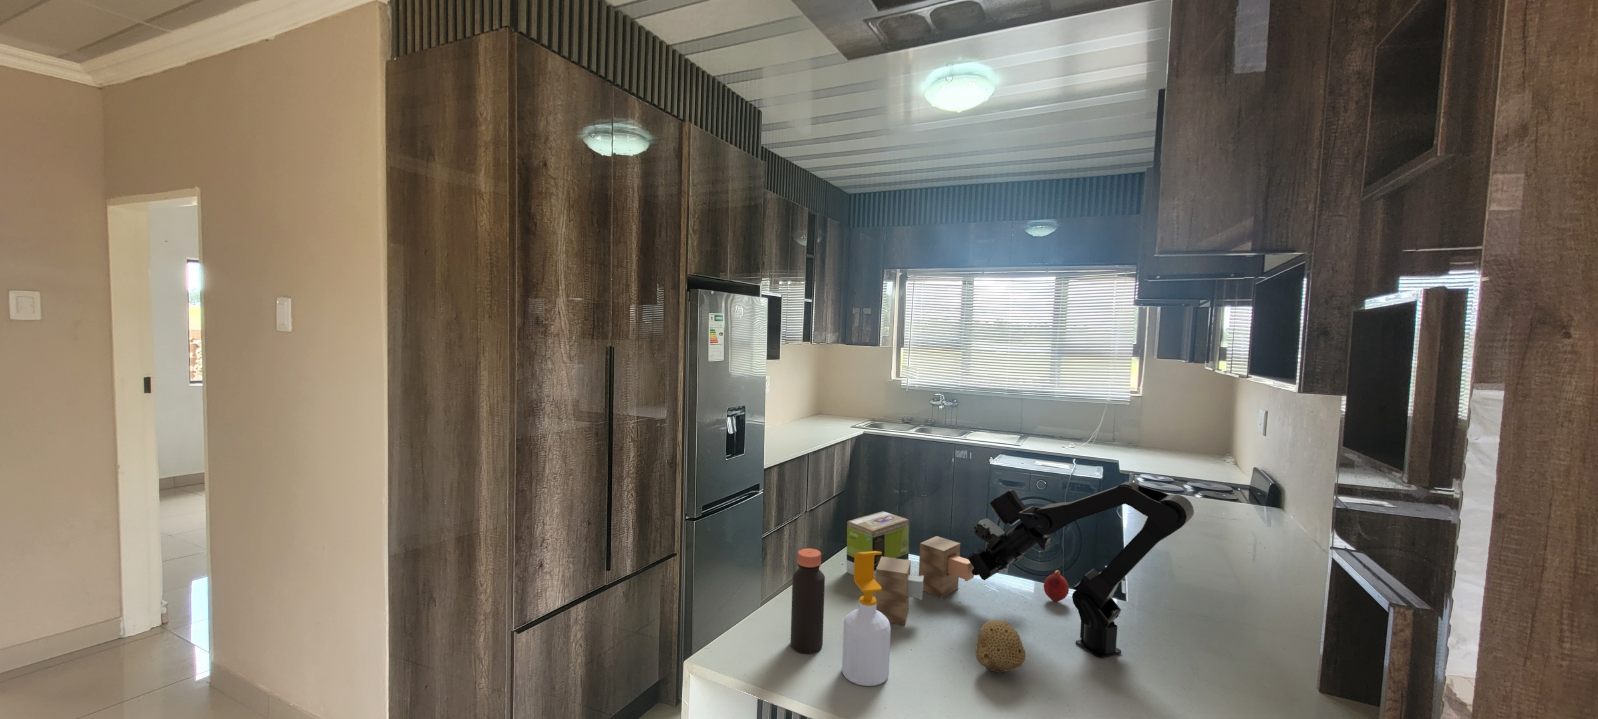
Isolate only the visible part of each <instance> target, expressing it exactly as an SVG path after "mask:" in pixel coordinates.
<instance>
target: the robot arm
mask: <svg viewBox="0 0 1598 719" xmlns="http://www.w3.org/2000/svg"><path fill="white" fill-rule="evenodd" d="M988 505H989V506H990V508H991V509H992V511H993V512H994V513H995V514H996V516H997V517H998V519H999V520H1000V522H1001V523H1002V524H1003V525H1005V526H1007V525H1009V526H1010V527H1011V526H1013V525H1015V524H1016V525H1015V527H1013V528H1012V529H1010V530H1007V531H1006V532H1005V531H1004V530H1003V529H1002V528H1001V527H1000V526H999V525H997V524H996V523H994V522H993V521H992V520H990V519H989V518H988V517H987V518H983V519H980V520H979V521H978V523H977V524H976V525H974V526H973V529H974V530H973V533H974V535H975V536H977V537H978V538H979V539H980V540H983V541H984V542H986V543H987V544H986V545H985V546H986V547H985V549H980V548H979V549H977V550H976V551H973V552H972V553H971V554H969V555H968V556H967V559H968V560H969V561H970V563H971V564H972V566H973V567H974V569H973V570H972V571H971V572H972V574H973V575H974V576H979V577H980V579H981V580H982V581H986V580H988V579H989V578H991V577H993V576H995V574H997V573H999V572H1000V571H1002V570H1004V569H1005V568H1007V566H1009V565H1010V564H1011V563H1013V564H1015V563H1016V562H1018V561H1019V560H1021V559H1022V558H1023V557H1024V554H1026V553H1028V551H1029V550H1031V549H1033V548H1035V547H1036V546H1037V545H1038V546H1039V547H1040V548H1041V550H1043V551H1046V550H1047V549H1048V548H1050V547H1051V545H1052V543H1051V538H1052V537H1051V536H1050V535H1052V534H1054V533H1056V532H1057V531H1059V530H1061V529H1063V528H1064V527H1066V526H1068V525H1069V524H1071V523H1073V522H1075V521H1077V520H1080V519H1083V518H1086V517H1090V516H1091V515H1095V514H1098V513H1103V512H1104V511H1107V510H1110V509H1113V508H1116V507H1120V506H1123V505H1127V506H1130V507H1131V508H1133V509H1134V510H1136V511H1137V512H1139V513H1140V514H1142V515H1143V516H1146V517H1147V518H1146V520H1145V522H1144V523H1143V526H1142V527H1141V529H1140V531H1138V533H1137V534H1135V536H1133V538H1132V539H1131V540H1130V541H1129V542H1128V543H1127V544H1126V545H1125V547H1123V548H1122V549H1121V551H1120V552H1119V553H1118V554H1117V555H1116V556H1114V558H1113V559H1112V560H1111V561H1110V562H1109V563H1108V565H1106V566H1105V568H1104V569H1102V570H1101V571H1100V572H1098V571H1097V570H1096V568H1092V569H1091V570H1090V571H1088V572H1087V573H1086V574H1084V576H1083V577H1082V579H1081V580H1080V581H1079V582H1078V583H1077V584H1075V585H1073V587H1072V589H1073V590H1074V591H1073V593H1072V595H1071V599H1072V603H1073V605H1074V608H1076V610H1077V611H1078V616H1079V618H1080V630H1079V632H1080V634H1079V639H1077V640H1075V644H1076V645H1078V646H1079V647H1081V648H1082V649H1084V650H1086V651H1087V652H1089V653H1090V654H1092V655H1093V656H1095V657H1097V658H1099V659H1103V658H1105V657H1110V656H1114V655H1119V654H1122V650H1121V649H1120V648H1118V647H1117V641H1118V640H1117V639H1118V625H1117V624H1116V622H1115V620H1116V619H1117V618H1118V617H1119V615H1120V613H1121V611H1122V609H1121V607H1120V606H1119V605H1118V604H1117V603H1116V601H1115V600H1114V599H1113V596H1114V594H1115V592H1116V591H1117V589H1118V586H1119V584H1120V582H1122V580H1124V579H1125V577H1126V576H1127V575H1129V573H1130V572H1131V571H1132V570H1133V569H1134V568H1135V567H1136V566H1137V565H1138V564H1139V563H1141V561H1142V560H1143V559H1144V558H1145V557H1146V556H1147V555H1148V554H1149V553H1150V551H1152V550H1153V548H1154V547H1155V546H1157V545H1158V543H1159V542H1161V541H1163V540H1164V539H1166V538H1167V537H1169V536H1171V535H1172V534H1174V533H1175V532H1177V531H1178V530H1180V529H1182V528H1183V526H1186V524H1187V523H1188V522H1189V521H1190V520H1191V519H1192V518H1193V517H1194V513H1195V512H1194V506H1193V504H1192V502H1191V501H1190V500H1189V499H1188V498H1187V497H1185V496H1183V495H1181V494H1175V493H1174V494H1169V493H1167V492H1163V491H1161V490H1157V489H1154V488H1150V487H1147V486H1144V485H1141V484H1139V483H1137V482H1136V483H1135V482H1133V481H1125V482H1123V483H1120V484H1119V485H1117V486H1114V487H1111V488H1108V489H1105V490H1103V491H1099V492H1096V493H1094V494H1091V495H1089V496H1086V497H1083V498H1079V499H1077V500H1074V501H1073V500H1072V501H1066V502H1065V501H1064V502H1063V501H1062V502H1056V503H1050V504H1046V505H1045V506H1033V505H1031V506H1029V507H1027V506H1026V505H1025V504H1024V503H1023V501H1022V500H1021V498H1020V497H1019V496H1018V494H1017V492H1016V491H1015V490H1014V488H1013V489H1009V490H1007V491H1006V492H1005V493H1003V494H1001V495H999V496H998V497H996V498H994V499H993V500H991V502H989V503H988ZM1019 521H1020V523H1018V522H1019ZM1017 523H1018V524H1017Z"/></svg>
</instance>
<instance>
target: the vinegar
mask: <svg viewBox="0 0 1598 719" xmlns="http://www.w3.org/2000/svg"><path fill="white" fill-rule="evenodd" d="M796 563H797V566H798V568H797V569H796V570H795V571H794V572H793V574H792V577H791V578H792V580H791V583H792V584H791V585H792V586H791V609H790V610H791V613H790V614H791V615H790V646H791V648H792V649H793V650H794V651H795V652H798V653H801V654H814V653H817V652H819V651H820V650H821V649H822V648H823V644H824V643H823V641H824V640H823V639H824V619H825V618H824V617H825V616H824V614H825V613H824V612H825V586H826V582H825V581H826V577H825V575H824V573H823V572H822V571H821V569H820V567H821V565H822V552H821V551H820V550H818V549H816V548H810V547H809V548H802V549H799V550H798V551H797V562H796Z"/></svg>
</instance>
